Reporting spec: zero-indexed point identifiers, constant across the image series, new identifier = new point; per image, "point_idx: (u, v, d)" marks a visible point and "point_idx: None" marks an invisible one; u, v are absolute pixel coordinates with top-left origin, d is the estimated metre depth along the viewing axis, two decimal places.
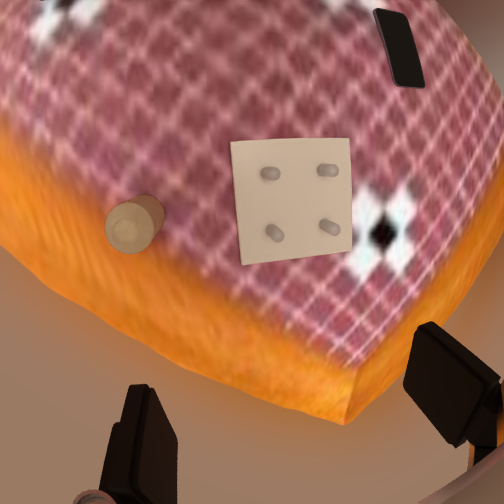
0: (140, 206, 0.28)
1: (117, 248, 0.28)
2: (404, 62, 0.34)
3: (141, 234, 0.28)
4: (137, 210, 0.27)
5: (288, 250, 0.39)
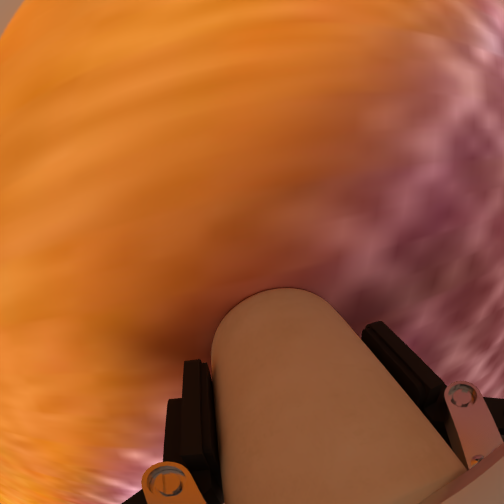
0: None
1: None
2: None
3: None
4: None
5: None
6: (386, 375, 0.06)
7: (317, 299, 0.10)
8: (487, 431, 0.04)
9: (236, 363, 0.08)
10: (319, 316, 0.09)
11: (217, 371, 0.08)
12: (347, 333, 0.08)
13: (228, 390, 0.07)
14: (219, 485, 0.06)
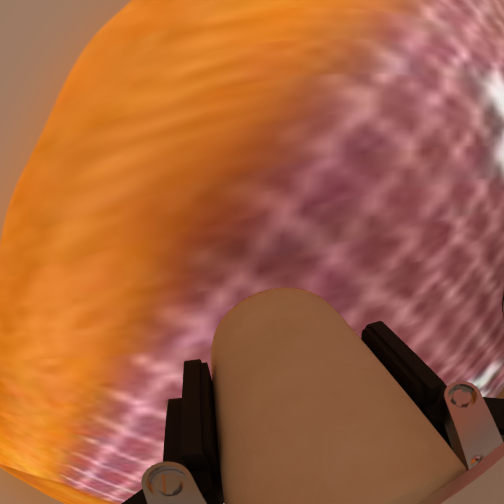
0: None
1: None
2: None
3: None
4: None
5: None
6: (385, 374, 0.06)
7: (317, 299, 0.10)
8: (487, 431, 0.04)
9: (236, 362, 0.08)
10: (318, 315, 0.09)
11: (217, 371, 0.09)
12: (347, 332, 0.08)
13: (228, 389, 0.07)
14: (219, 485, 0.06)
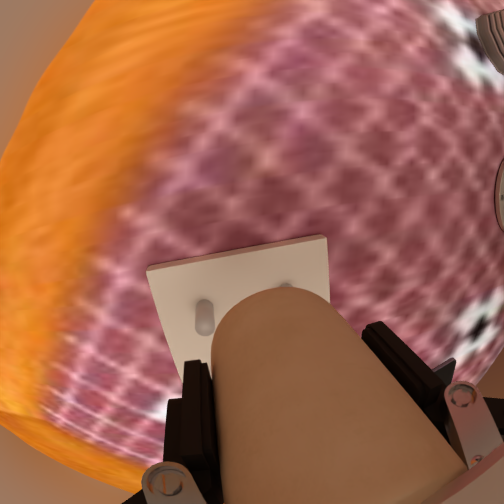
0: None
1: None
2: None
3: None
4: None
5: (177, 332, 0.26)
6: (386, 374, 0.06)
7: (317, 298, 0.10)
8: (487, 431, 0.04)
9: (236, 362, 0.08)
10: (319, 315, 0.09)
11: (217, 370, 0.08)
12: (347, 332, 0.08)
13: (228, 389, 0.07)
14: (219, 485, 0.06)
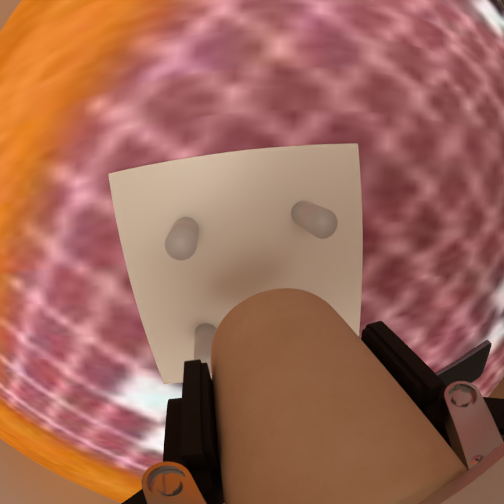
0: None
1: None
2: None
3: None
4: None
5: (145, 269, 0.18)
6: (386, 375, 0.06)
7: (317, 299, 0.10)
8: (487, 431, 0.04)
9: (236, 363, 0.08)
10: (319, 316, 0.09)
11: (217, 372, 0.08)
12: (347, 333, 0.08)
13: (228, 391, 0.07)
14: (219, 485, 0.06)
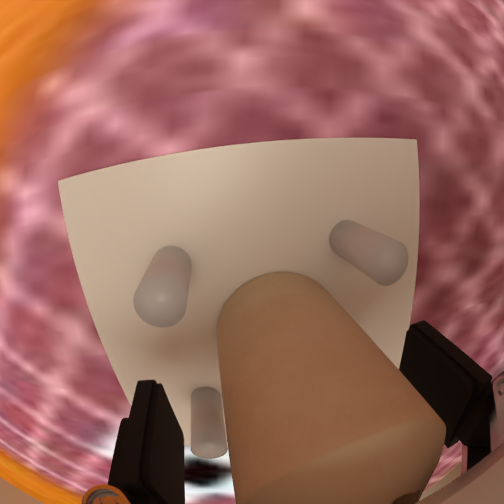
0: None
1: (278, 503, 0.04)
2: None
3: None
4: None
5: (117, 319, 0.12)
6: (370, 341, 0.08)
7: (311, 281, 0.12)
8: None
9: (240, 333, 0.09)
10: (312, 293, 0.10)
11: (223, 343, 0.10)
12: (337, 308, 0.09)
13: (233, 356, 0.08)
14: None
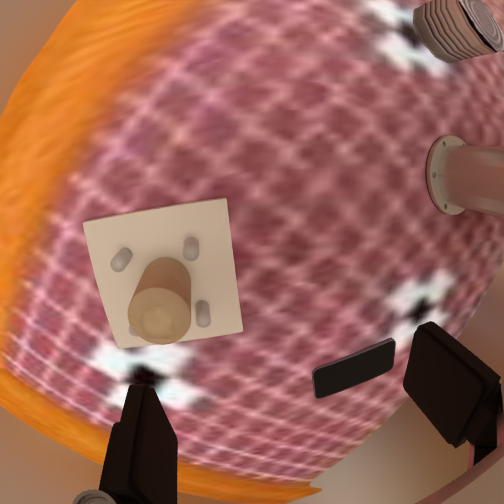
0: (187, 330, 0.24)
1: (133, 306, 0.22)
2: (339, 375, 0.42)
3: (156, 339, 0.23)
4: (183, 331, 0.23)
5: (104, 276, 0.30)
6: (175, 277, 0.26)
7: (174, 261, 0.30)
8: None
9: (142, 275, 0.27)
10: (168, 264, 0.28)
11: None
12: (174, 268, 0.28)
13: (139, 281, 0.27)
14: None
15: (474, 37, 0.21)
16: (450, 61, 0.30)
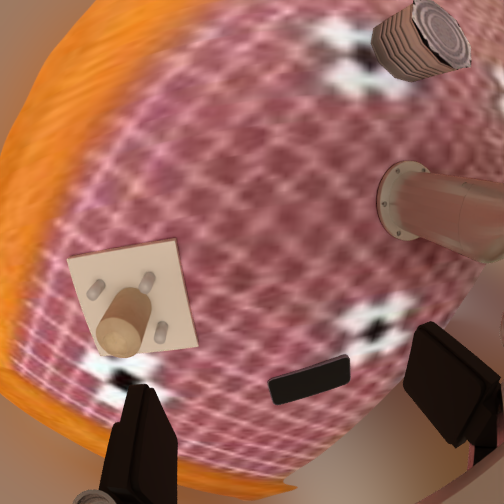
0: None
1: (98, 330, 0.28)
2: (294, 385, 0.47)
3: (116, 354, 0.29)
4: (135, 349, 0.29)
5: (86, 300, 0.36)
6: (132, 307, 0.32)
7: (136, 291, 0.36)
8: None
9: None
10: (130, 294, 0.34)
11: None
12: (133, 298, 0.34)
13: None
14: None
15: (430, 56, 0.25)
16: (412, 80, 0.34)
